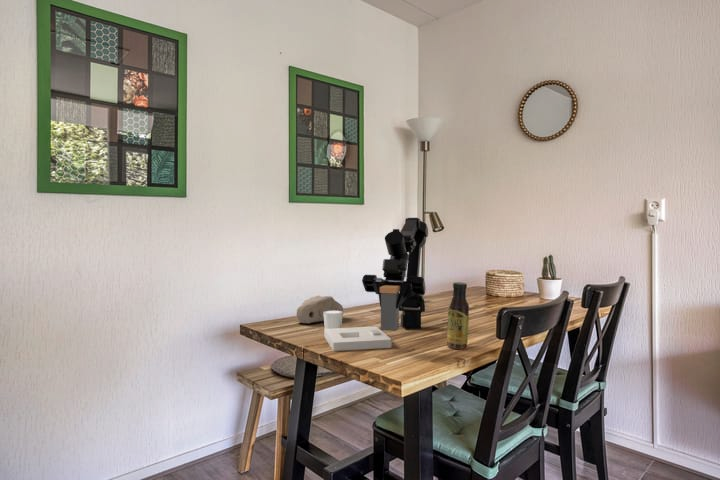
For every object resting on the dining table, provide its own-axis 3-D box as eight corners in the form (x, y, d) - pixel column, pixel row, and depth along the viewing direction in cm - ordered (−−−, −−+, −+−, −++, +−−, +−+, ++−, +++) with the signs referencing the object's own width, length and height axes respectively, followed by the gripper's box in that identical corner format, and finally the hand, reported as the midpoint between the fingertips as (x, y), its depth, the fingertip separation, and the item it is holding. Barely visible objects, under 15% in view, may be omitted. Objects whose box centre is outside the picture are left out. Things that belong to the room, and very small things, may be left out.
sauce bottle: (442, 347, 138) (443, 282, 138) (454, 343, 143) (455, 281, 142) (461, 351, 134) (462, 284, 133) (472, 347, 138) (473, 283, 137)
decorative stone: (302, 327, 165) (302, 300, 164) (291, 323, 171) (291, 297, 170) (345, 320, 178) (345, 294, 178) (334, 316, 184) (334, 292, 183)
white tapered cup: (340, 334, 154) (340, 314, 154) (320, 333, 155) (320, 313, 155) (344, 329, 160) (345, 310, 160) (326, 328, 162) (326, 309, 162)
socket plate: (376, 333, 155) (376, 324, 155) (391, 347, 138) (391, 336, 138) (324, 336, 151) (324, 326, 151) (333, 351, 134) (333, 340, 133)
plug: (383, 326, 136) (384, 285, 135) (400, 327, 134) (400, 285, 134) (379, 330, 131) (379, 287, 131) (396, 331, 130) (396, 288, 129)
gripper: (363, 248, 139) (352, 289, 128) (424, 249, 133) (417, 292, 123) (371, 271, 146) (360, 311, 136) (428, 273, 141) (421, 315, 131)
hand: (388, 307), depth 131 cm, fingers closed on plug, 4 cm apart
